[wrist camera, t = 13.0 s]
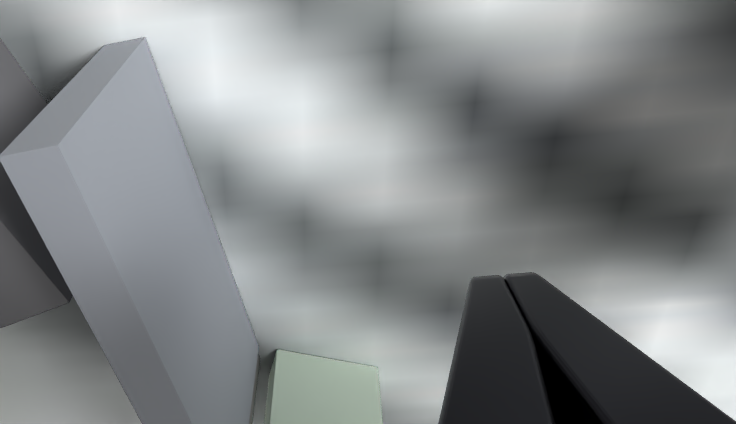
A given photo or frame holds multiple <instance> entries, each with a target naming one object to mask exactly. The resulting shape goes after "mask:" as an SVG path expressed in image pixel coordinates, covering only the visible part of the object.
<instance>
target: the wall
mask: <svg viewBox="0 0 736 424" xmlns="http://www.w3.org/2000/svg"><path fill="white" fill-rule="evenodd" d="M264 424H383V420H382V408H381V397H380V386H379V374H378V367H373V366H368V365H362V364H357V363H351V362H346V361H340V360H335V359H329V358H324V357H318V356H312V355H307V354H301V353H296V352H290V351H285V350H279V349H277V351H276V355H275V358H274V361H273V365H272V368H271V371H270V375H269V380H268V390H267V399H266V409H265V418H264Z"/></svg>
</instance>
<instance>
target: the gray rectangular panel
mask: <svg viewBox="0 0 736 424" xmlns="http://www.w3.org/2000/svg"><path fill="white" fill-rule="evenodd" d="M0 162H1V163H2V165H3V167H4V169H5V171H6V173H7V175H8V176H9V178H10V180H11V182H12V184H13V186H14V187H15V189H16V191H17V193H18V195H19V197H20V199H21V200H22V202H23V204H24V206H25V208H26V210H27V212H28V213H29V215H30V217H31V219H32V221H33V223H34V224H35V226H36V228H37V230H38V232H39V234H40V236H41V237H42V239H43V241H44V243H45V245H46V247H47V248H48V250H49V252H50V254H51V256H52V258H53V260H54V261H55V263H56V265H57V267H58V269H59V271H60V273H61V274H62V276H63V278H64V280H65V282H66V284H67V285H68V287H69V289H70V291H71V293H72V295H73V297H74V298H75V300H76V302H77V304H78V306H79V308H80V309H81V311H82V313H83V315H84V317H85V319H86V321H87V322H88V324H89V326H90V328H91V330H92V332H93V334H94V335H95V337H96V339H97V341H98V343H99V345H100V346H101V348H102V350H103V352H104V354H105V356H106V358H107V359H108V361H109V363H110V365H111V367H112V369H113V370H114V372H115V374H116V376H117V378H118V380H119V382H120V383H121V385H122V387H123V389H124V391H125V393H126V395H127V396H128V398H129V400H130V402H131V404H132V406H133V407H134V409H135V411H136V413H137V415H138V417H139V419H140V420H141V422H142V424H252V422H253V414H254V406H255V398H256V390H257V382H258V374H259V366H260V356H259V354H258V350H259V345H258V343H257V340H256V337H255V334H254V332H253V329H252V326H251V324H250V321H249V318H248V315H247V313H246V310H245V307H244V304H243V302H242V299H241V296H240V294H239V291H238V288H237V285H236V283H235V280H234V277H233V275H232V272H231V269H230V266H229V264H228V261H227V258H226V255H225V253H224V250H223V247H222V245H221V242H220V239H219V236H218V234H217V231H216V228H215V226H214V223H213V220H212V217H211V215H210V212H209V209H208V206H207V204H206V201H205V198H204V196H203V193H202V190H201V187H200V185H199V182H198V179H197V177H196V174H195V171H194V168H193V166H192V163H191V160H190V157H189V155H188V152H187V149H186V147H185V144H184V141H183V138H182V136H181V133H180V130H179V128H178V125H177V122H176V119H175V117H174V114H173V111H172V108H171V106H170V103H169V100H168V98H167V95H166V92H165V89H164V87H163V84H162V81H161V79H160V76H159V73H158V70H157V68H156V65H155V62H154V60H153V57H152V54H151V51H150V49H149V46H148V43H147V40H146V38H145V37H143V38H138V39H133V40H128V41H123V42H118V43H113V44H108V45H104V46H103V47H102V48H101V49H100V50H99V51H98V52H97V54H96V55H95V56H94V57H93V58H92V59H91V60H90V61H89V62H88V63H87V64H86V65H85V66H84V67H83V68H82V69H81V70H80V71H79V72H78V73H77V74H76V76H75V77H74V78H73V79H72V80H71V81H70V82H69V83H68V84H67V85H66V86H65V87H64V88H63V89H62V90H61V91H60V92H59V93H58V94H57V95H56V96H55V98H54V99H53V100H52V101H51V102H50V103H49V104H48V105H47V106H46V107H45V108H44V109H43V110H42V111H41V112H40V113H39V114H38V115H37V116H36V117H35V118H34V120H33V121H32V122H31V123H30V124H29V125H28V126H27V127H26V128H25V129H24V130H23V131H22V132H21V133H20V134H19V135H18V136H17V137H16V138H15V139H14V140H13V141H12V143H11V144H10V145H9V146H8V147H7V148H6V149H5V150H4V151H3V152H2V153H1V154H0Z"/></svg>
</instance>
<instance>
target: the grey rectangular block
mask: <svg viewBox="0 0 736 424" xmlns="http://www.w3.org/2000/svg"><path fill="white" fill-rule="evenodd" d="M47 105H48V104H47V103H46V101H45V100H44V98H43V97H42V96H41V94H40V93H39V91H38V90H37V89H36V87H35V86H34V84H33V83H32V82H31V80H30V79H29V77H28V76H27V75H26V73H25V72H24V70H23V69H22V68H21V66H20V65H19V63H18V62H17V61H16V59H15V58H14V56H13V55H12V54H11V52H10V51H9V49H8V48H7V47H6V45H5V44H4V42H3V41H2V40H1V38H0V154H1V153H2V152H3V151H4V150H5V149H6V148H7V147H8V146H9V145H10V144H11V143H12V141H13V140H14V139H15V138H16V137H17V136H18V135H19V134H20V133H21V132H22V131H23V130H24V129H25V128H26V127H27V126H28V125H29V124H30V123H31V122H32V121H33V120H34V118H35V117H36V116H37V115H38V114H39V113H40V112H41V111H42V110H43V109H44V108H45V107H46V106H47ZM72 296H73V295H72V293H71V291H70V289H69V287H68V285H67V284H66V282H65V280H64V278H63V276H62V274H61V273H60V271H59V269H58V267H57V265H56V263H55V261H54V260H53V258H52V256H51V254H50V252H49V250H48V248H47V247H46V245H45V243H44V241H43V239H42V237H41V236H40V234H39V232H38V230H37V228H36V226H35V224H34V223H33V221H32V219H31V217H30V215H29V213H28V212H27V210H26V208H25V206H24V204H23V202H22V200H21V199H20V197H19V195H18V193H17V191H16V189H15V187H14V186H13V184H12V182H11V180H10V178H9V176H8V175H7V173H6V171H5V169H4V167H3V165H2V163H1V162H0V328H3V327H5V326H8V325H11V324H13V323H16V322H19V321H21V320H24V319H27V318H29V317H32V316H35V315H37V314H40V313H43V312H45V311H48V310H51V309H53V308H56V307H59V306H61V305H64V304H67V303H69V302H70V300H71V298H72Z"/></svg>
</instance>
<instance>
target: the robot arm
mask: <svg viewBox="0 0 736 424" xmlns="http://www.w3.org/2000/svg"><path fill="white" fill-rule="evenodd" d="M438 424H736V421H735V420H733V419H732V418H731V417H729V416H728V415H726V414H725V413H724V412H722V411H721V410H720V409H718V408H717V407H716V406H714V405H713V404H712V403H710V402H709V401H708V400H706V399H705V398H704V397H702V396H701V395H700V394H698V393H697V392H696V391H694V390H693V389H691V388H690V387H689V386H687V385H686V384H685V383H683V382H682V381H681V380H679V379H678V378H677V377H675V376H674V375H673V374H671V373H670V372H669V371H667V370H666V369H665V368H663V367H662V366H661V365H659V364H658V363H656V362H655V361H654V360H652V359H651V358H650V357H648V356H647V355H646V354H644V353H643V352H642V351H640V350H639V349H638V348H636V347H635V346H634V345H632V344H631V343H630V342H628V341H627V340H626V339H624V338H623V337H621V336H620V335H619V334H617V333H616V332H615V331H613V330H612V329H611V328H609V327H608V326H607V325H605V324H604V323H603V322H601V321H600V320H599V319H597V318H596V317H595V316H593V315H592V314H591V313H589V312H588V311H586V310H585V309H584V308H582V307H581V306H580V305H578V304H577V303H576V302H574V301H573V300H572V299H570V298H569V297H568V296H566V295H565V294H564V293H562V292H561V291H560V290H558V289H557V288H556V287H554V286H553V285H551V284H550V283H549V282H547V281H546V280H545V279H543V278H542V277H541V276H539V275H538V274H536V273H532V272H529V273H517V274H507V275H506V276H504V278H503V277H501V276H499V275H492V276H479V277H473V278H472V279H471V280H470V283H469V287H468V292H467V296H466V301H465V305H464V310H463V314H462V319H461V323H460V328H459V333H458V337H457V342H456V346H455V351H454V355H453V360H452V364H451V369H450V373H449V378H448V383H447V387H446V392H445V396H444V401H443V405H442V410H441V414H440V419H439V423H438Z"/></svg>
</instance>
